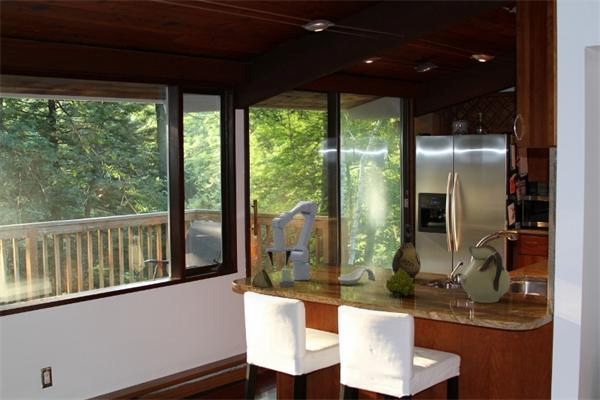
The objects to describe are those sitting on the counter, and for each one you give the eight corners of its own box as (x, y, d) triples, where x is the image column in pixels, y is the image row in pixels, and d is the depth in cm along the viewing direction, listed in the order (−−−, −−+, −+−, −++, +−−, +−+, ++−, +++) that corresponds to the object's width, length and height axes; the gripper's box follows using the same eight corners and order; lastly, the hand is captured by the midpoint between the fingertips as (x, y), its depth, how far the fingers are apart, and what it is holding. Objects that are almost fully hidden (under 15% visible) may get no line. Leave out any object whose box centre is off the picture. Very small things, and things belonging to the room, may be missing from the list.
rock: (246, 282, 385) (255, 282, 376) (253, 268, 388) (263, 267, 380) (261, 292, 389) (271, 292, 381) (267, 278, 392) (278, 278, 384)
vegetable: (393, 292, 341) (392, 263, 349) (382, 304, 354) (381, 276, 362) (422, 296, 344) (421, 267, 352) (410, 308, 357) (409, 280, 365)
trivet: (293, 284, 390) (293, 278, 390) (294, 287, 382) (294, 281, 382) (278, 284, 390) (278, 279, 390) (279, 287, 382) (279, 282, 382)
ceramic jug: (422, 281, 388) (422, 226, 386) (393, 282, 389) (393, 226, 387) (418, 276, 405) (417, 223, 403) (390, 276, 406) (390, 223, 404)
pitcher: (473, 293, 354) (473, 242, 352) (520, 299, 339) (520, 246, 337) (452, 301, 337) (452, 248, 335) (500, 308, 322) (500, 252, 320)
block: (290, 279, 389) (289, 268, 388) (290, 280, 384) (290, 269, 384) (281, 279, 388) (281, 268, 388) (282, 281, 384) (281, 269, 383)
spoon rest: (349, 287, 378) (349, 273, 377) (333, 284, 387) (333, 271, 386) (379, 281, 394) (379, 268, 393) (363, 278, 402) (363, 265, 402)
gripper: (265, 241, 385) (266, 266, 386) (292, 240, 386) (293, 265, 387) (265, 239, 392) (265, 264, 393) (291, 239, 393) (292, 263, 394)
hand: (279, 265), depth 391 cm, fingers open, 7 cm apart
